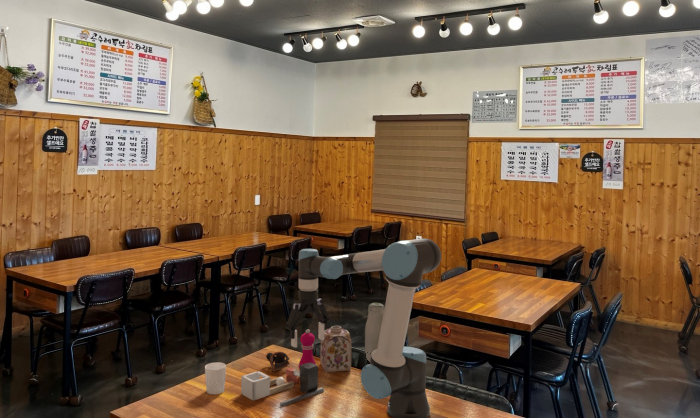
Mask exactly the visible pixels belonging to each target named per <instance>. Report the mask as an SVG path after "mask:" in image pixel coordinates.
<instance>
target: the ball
mask: <svg viewBox="0 0 700 418" xmlns="http://www.w3.org/2000/svg"><path fill="white" fill-rule="evenodd" d="M278 377H279V378H278ZM278 377H276V378H277V380H276V384H275V385H276V386H279V385H282V384H285V383H286V378H284V377H283V376H282V377H283V378H282V377H281V376H278Z"/></svg>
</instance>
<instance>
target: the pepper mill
mask: <svg viewBox="0 0 700 418" xmlns="http://www.w3.org/2000/svg"><path fill="white" fill-rule="evenodd" d="M299 339H300V343H301V349H302V353H301V358H300V360H299V363H298V370H300V365H302V364H306V363H309V362H311V363H313V364H315V365H317V363H316V360H315V358H314V354H313V349H314V343H315V341H316V340H315V339H316V338H315V335H314V334H313V333H312V332H311V331H310V329H305V332H304V333H302V334H301V336H300V337H299Z"/></svg>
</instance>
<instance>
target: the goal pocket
mask: <svg viewBox="0 0 700 418" xmlns="http://www.w3.org/2000/svg"><path fill="white" fill-rule="evenodd" d="M240 378H241V380H240V381H241V382H240V383H241V386H240V387H241V388H240V389H241V393H240V394H241V395H242V396H244V397H246V398H248V399H250V400H251V401H252V402H254V401H257V400H259V399H262V398H265V397H268V396H271V395H270V388H271V386H270V380H271V376H269V375H267V374H265V373H263V372H261V371H259V370H258V371H254V372H251V373H248V374H244V375H241V377H240Z"/></svg>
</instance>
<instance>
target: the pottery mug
mask: <svg viewBox="0 0 700 418" xmlns="http://www.w3.org/2000/svg"><path fill="white" fill-rule="evenodd" d="M265 357H266V359H267V361H268V362H269V365H270V366H271V367H270V372H271V371H272V372H275V371H278V370H283V369H285V368H286V367H287V366H288V365H290V362H289V360H290V357H289V356H288V354H287V353H286V352H283V351H276V352H274V353H272V352H267V353H266V356H265Z"/></svg>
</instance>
